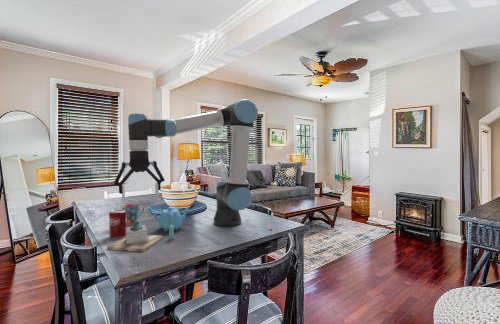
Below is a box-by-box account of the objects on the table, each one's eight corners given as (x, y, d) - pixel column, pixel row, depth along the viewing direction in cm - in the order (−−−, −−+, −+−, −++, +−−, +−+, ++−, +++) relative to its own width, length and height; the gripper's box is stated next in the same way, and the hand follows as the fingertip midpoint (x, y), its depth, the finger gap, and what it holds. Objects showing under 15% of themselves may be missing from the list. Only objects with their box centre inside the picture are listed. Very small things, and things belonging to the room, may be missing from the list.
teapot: (152, 231, 135) (151, 209, 134) (172, 222, 147) (171, 202, 146) (171, 235, 129) (170, 212, 128) (190, 226, 141) (190, 205, 140)
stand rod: (174, 238, 122) (174, 225, 122) (172, 239, 120) (172, 226, 120) (170, 238, 123) (170, 225, 122) (168, 239, 121) (168, 226, 120)
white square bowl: (145, 235, 121) (145, 224, 121) (147, 241, 114) (147, 229, 114) (125, 238, 117) (125, 227, 117) (126, 244, 110) (126, 232, 110)
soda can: (115, 240, 120) (114, 213, 119) (106, 237, 124) (105, 211, 123) (130, 235, 126) (129, 210, 126) (121, 233, 130) (120, 208, 129)
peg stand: (163, 238, 122) (162, 216, 122) (143, 251, 106) (142, 226, 106) (131, 236, 125) (130, 215, 124) (107, 249, 109) (106, 224, 109)
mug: (128, 229, 136) (128, 208, 135) (118, 226, 141) (117, 206, 140) (149, 223, 146) (148, 204, 145) (138, 221, 151) (138, 202, 150)
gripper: (166, 149, 125) (167, 195, 126) (105, 150, 112) (107, 201, 113) (170, 149, 118) (172, 197, 120) (106, 151, 106) (108, 204, 107)
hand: (140, 199), depth 117 cm, fingers open, 13 cm apart
